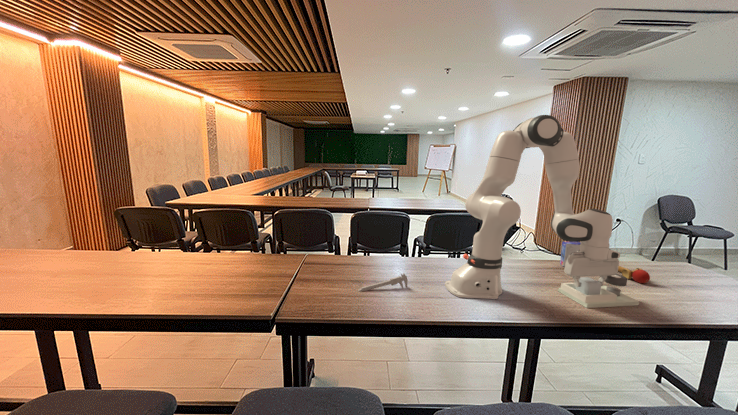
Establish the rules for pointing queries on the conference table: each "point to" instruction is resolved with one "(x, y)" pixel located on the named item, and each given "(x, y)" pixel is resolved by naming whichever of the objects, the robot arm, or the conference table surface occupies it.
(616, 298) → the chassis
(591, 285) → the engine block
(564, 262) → the ink cartridge box
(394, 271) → the conference table surface
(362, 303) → the conference table surface
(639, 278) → the kendama
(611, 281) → the wheel
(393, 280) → the caliper
